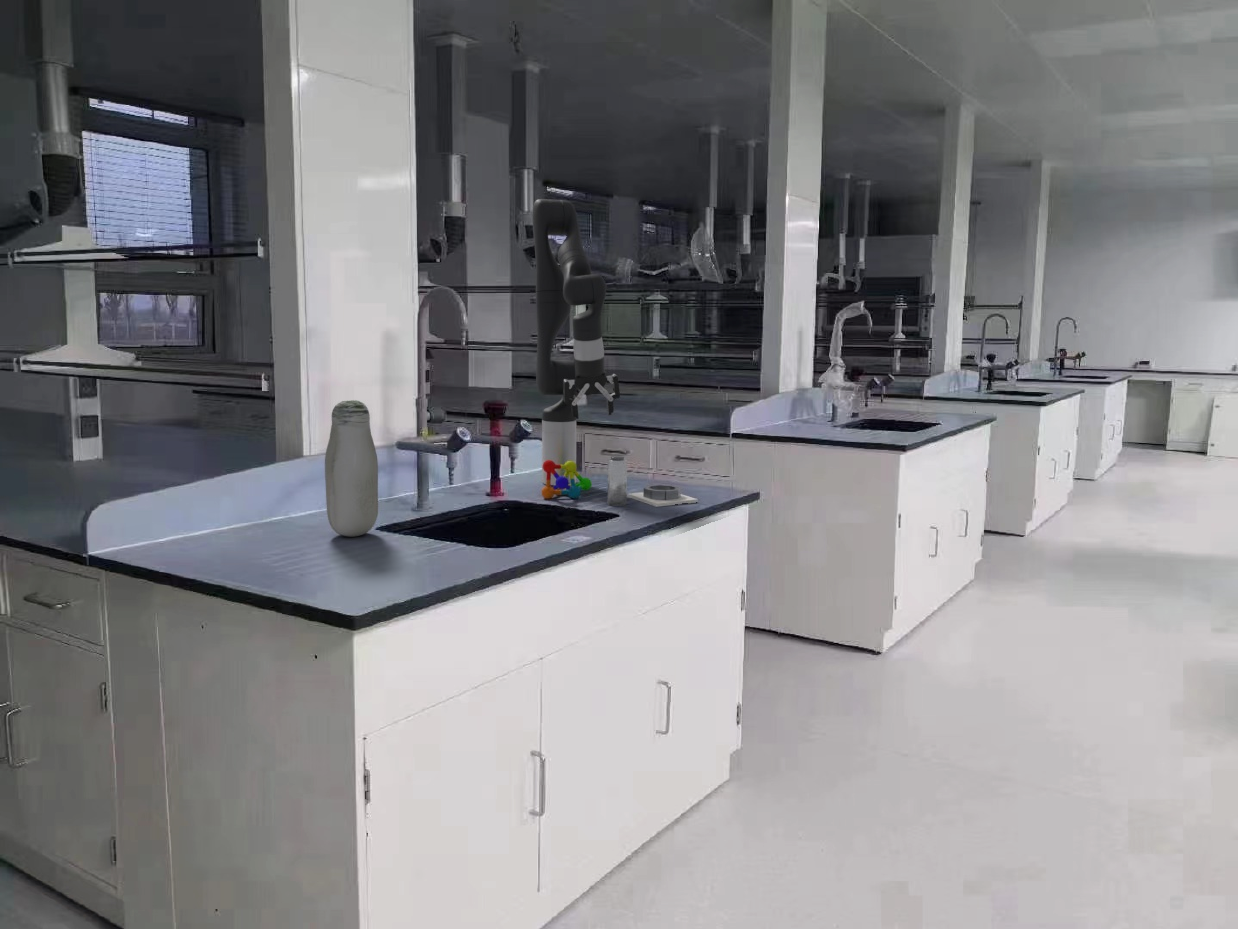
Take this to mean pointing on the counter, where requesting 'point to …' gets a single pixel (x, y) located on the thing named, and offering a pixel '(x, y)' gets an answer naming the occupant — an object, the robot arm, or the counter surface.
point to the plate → (662, 502)
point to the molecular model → (564, 480)
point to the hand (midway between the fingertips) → (592, 416)
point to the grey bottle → (351, 471)
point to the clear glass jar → (617, 481)
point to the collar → (662, 492)
